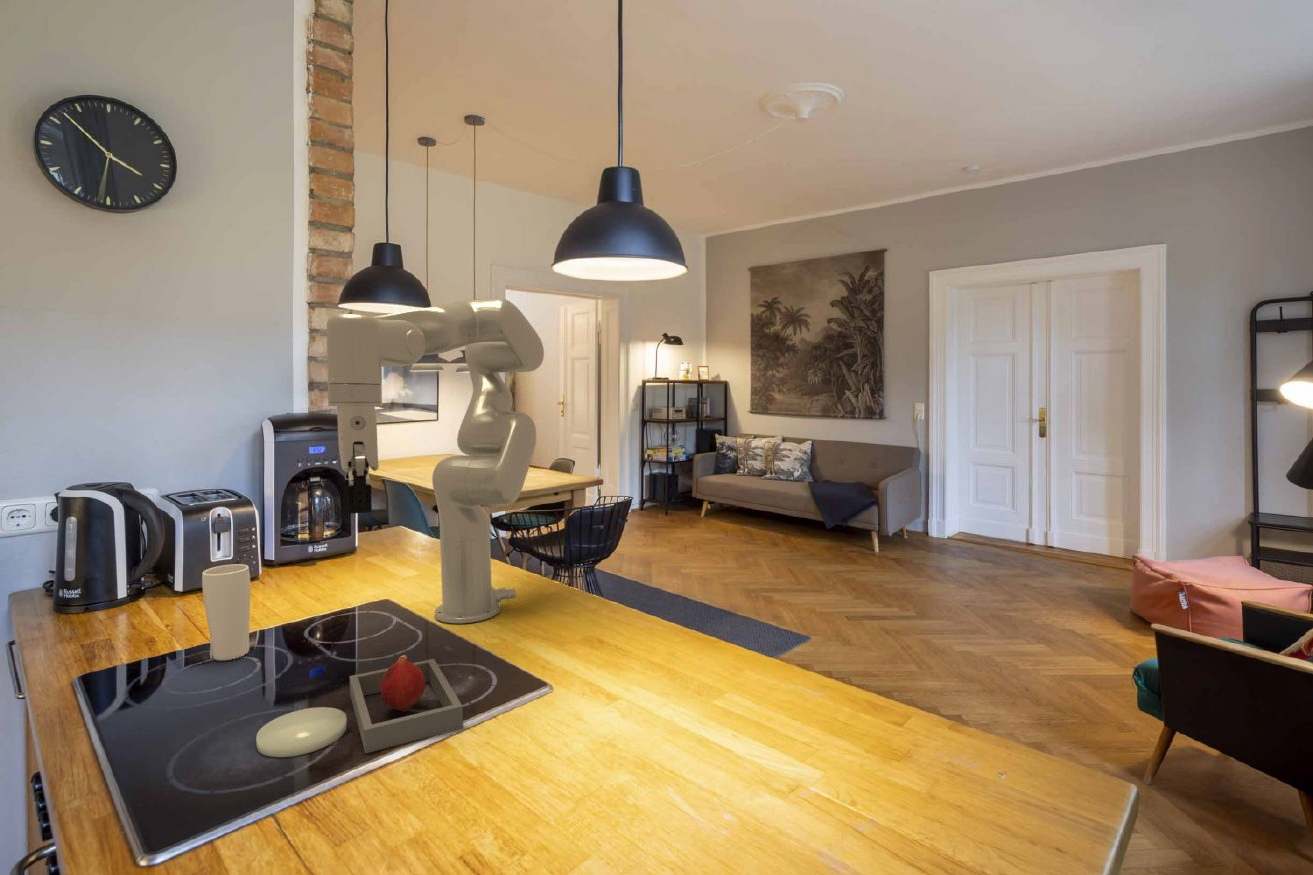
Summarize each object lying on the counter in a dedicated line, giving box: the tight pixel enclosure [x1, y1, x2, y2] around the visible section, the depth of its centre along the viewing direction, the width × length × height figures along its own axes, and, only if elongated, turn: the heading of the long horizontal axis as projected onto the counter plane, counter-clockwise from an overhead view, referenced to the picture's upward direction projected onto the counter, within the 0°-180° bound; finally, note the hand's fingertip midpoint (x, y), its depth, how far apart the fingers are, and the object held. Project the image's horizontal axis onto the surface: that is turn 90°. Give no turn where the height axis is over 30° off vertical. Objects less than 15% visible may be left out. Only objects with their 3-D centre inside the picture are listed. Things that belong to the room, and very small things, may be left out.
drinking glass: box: [201, 563, 251, 662], centre depth 113 cm, size 7×7×15 cm
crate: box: [348, 658, 464, 754], centre depth 93 cm, size 12×18×3 cm, turn 30°
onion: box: [380, 654, 426, 713], centre depth 93 cm, size 6×6×8 cm
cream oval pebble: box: [255, 706, 348, 758], centre depth 87 cm, size 10×10×1 cm
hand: (357, 508), depth 103 cm, fingers open, 9 cm apart
